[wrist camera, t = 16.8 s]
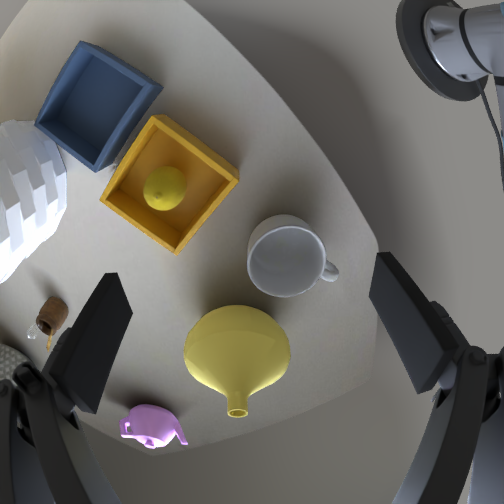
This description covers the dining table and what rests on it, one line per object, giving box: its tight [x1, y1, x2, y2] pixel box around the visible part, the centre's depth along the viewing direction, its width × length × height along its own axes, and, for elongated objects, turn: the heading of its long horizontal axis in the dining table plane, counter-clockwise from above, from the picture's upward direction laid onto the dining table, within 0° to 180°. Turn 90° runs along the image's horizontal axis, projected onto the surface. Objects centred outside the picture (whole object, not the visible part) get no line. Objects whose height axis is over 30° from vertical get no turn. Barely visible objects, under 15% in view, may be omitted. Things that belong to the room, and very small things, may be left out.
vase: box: [184, 305, 291, 418], centre depth 44 cm, size 18×18×19 cm
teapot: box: [119, 404, 187, 448], centre depth 66 cm, size 22×16×12 cm
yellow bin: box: [100, 114, 239, 256], centre depth 36 cm, size 14×14×6 cm
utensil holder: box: [27, 297, 68, 352], centre depth 44 cm, size 6×6×12 cm
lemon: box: [143, 166, 187, 210], centre depth 34 cm, size 6×6×8 cm
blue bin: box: [34, 41, 164, 173], centre depth 29 cm, size 14×14×6 cm
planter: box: [0, 344, 32, 386], centre depth 52 cm, size 19×19×18 cm
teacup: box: [247, 215, 339, 297], centre depth 41 cm, size 14×11×8 cm
